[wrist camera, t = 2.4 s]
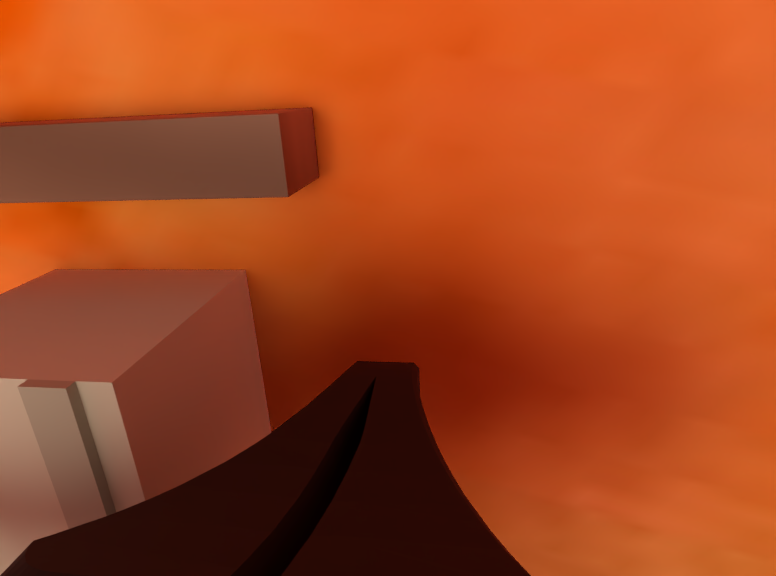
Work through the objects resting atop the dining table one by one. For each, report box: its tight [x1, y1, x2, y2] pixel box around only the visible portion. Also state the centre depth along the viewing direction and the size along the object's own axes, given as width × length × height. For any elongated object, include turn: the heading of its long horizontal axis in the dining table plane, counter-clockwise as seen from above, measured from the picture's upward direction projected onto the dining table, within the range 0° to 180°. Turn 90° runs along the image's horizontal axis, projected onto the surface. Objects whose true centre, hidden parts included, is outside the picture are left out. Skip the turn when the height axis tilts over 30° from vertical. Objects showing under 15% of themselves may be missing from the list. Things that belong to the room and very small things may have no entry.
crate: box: [0, 269, 271, 575], centre depth 11 cm, size 5×5×5 cm
